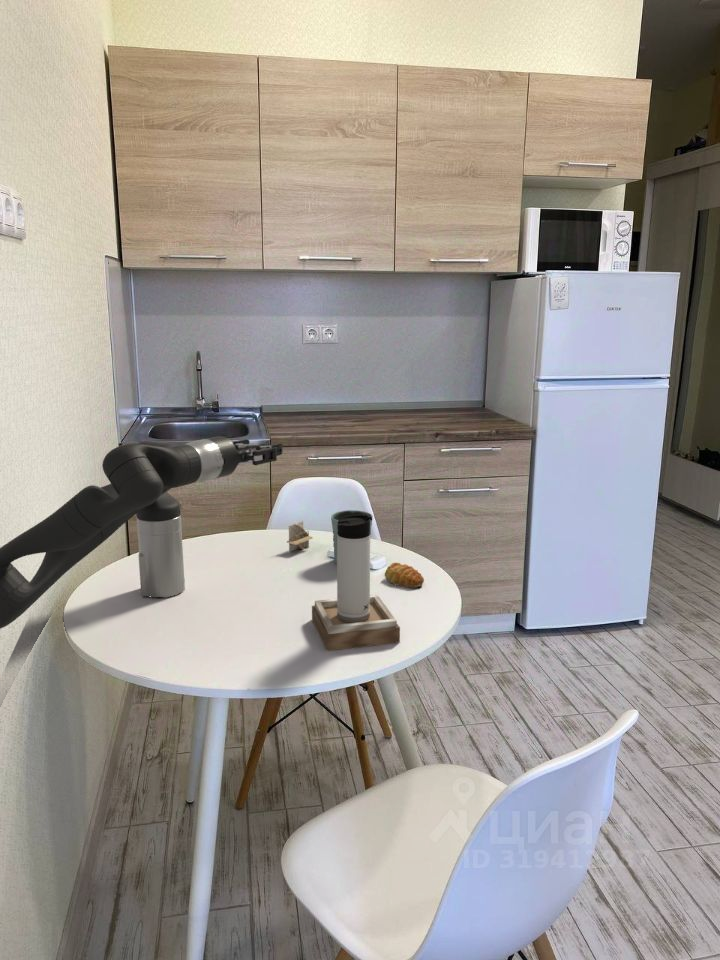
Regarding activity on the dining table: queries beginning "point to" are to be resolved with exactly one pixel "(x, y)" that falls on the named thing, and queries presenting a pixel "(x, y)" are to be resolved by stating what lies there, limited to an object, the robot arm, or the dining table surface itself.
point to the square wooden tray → (354, 626)
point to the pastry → (403, 575)
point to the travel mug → (353, 568)
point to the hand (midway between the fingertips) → (264, 446)
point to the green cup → (334, 519)
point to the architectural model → (298, 537)
